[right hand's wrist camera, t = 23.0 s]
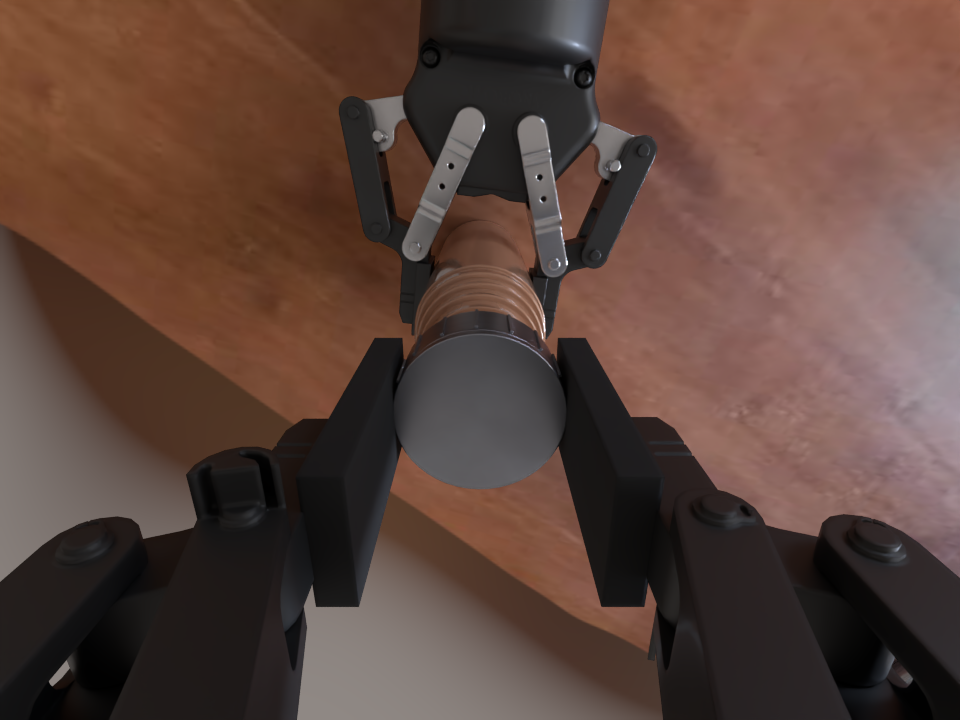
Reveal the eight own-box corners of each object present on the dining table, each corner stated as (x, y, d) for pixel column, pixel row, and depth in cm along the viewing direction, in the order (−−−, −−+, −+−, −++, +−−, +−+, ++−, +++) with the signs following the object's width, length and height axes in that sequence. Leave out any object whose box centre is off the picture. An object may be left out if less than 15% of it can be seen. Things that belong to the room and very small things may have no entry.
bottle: (487, 202, 30) (498, 273, 12) (535, 268, 31) (608, 417, 14) (424, 253, 31) (348, 387, 13) (473, 314, 32) (464, 508, 15)
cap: (498, 276, 13) (501, 296, 12) (587, 399, 15) (601, 433, 13) (370, 368, 14) (354, 398, 12) (464, 475, 16) (462, 517, 14)
